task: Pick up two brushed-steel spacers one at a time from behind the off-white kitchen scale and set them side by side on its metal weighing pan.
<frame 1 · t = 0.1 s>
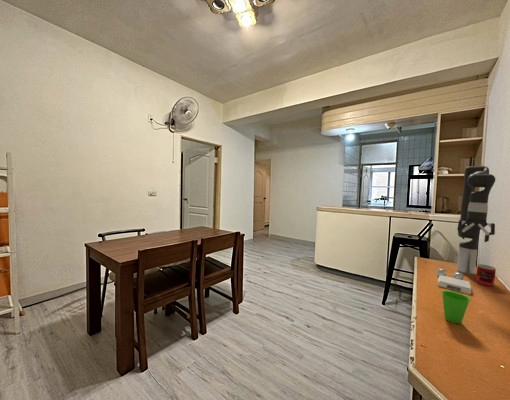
hand: (474, 240, 119), 29 cm above the table, fingers open, 8 cm apart
scale: (453, 286, 128), on the table
spacer a: (458, 281, 136), on the table
canned food: (484, 284, 134), on the table
spacer b: (441, 276, 142), on the table
cup: (452, 321, 92), on the table
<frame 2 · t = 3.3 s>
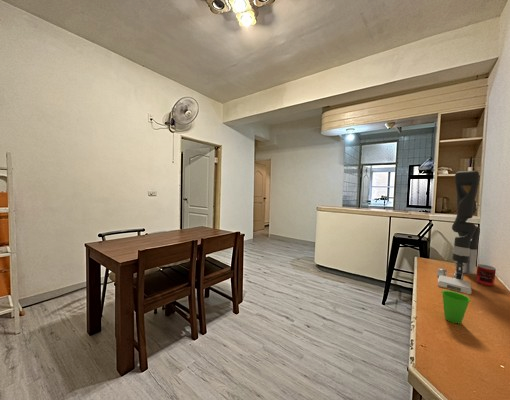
hand: (458, 280, 136), 0 cm above the table, fingers closed on spacer a, 4 cm apart
spacer a: (458, 280, 136), on the table, touching gripper
everything else where it was.
when the fingers open (4 cm above the table, at t = 7.8 s): spacer a stays where it is, resting on scale.
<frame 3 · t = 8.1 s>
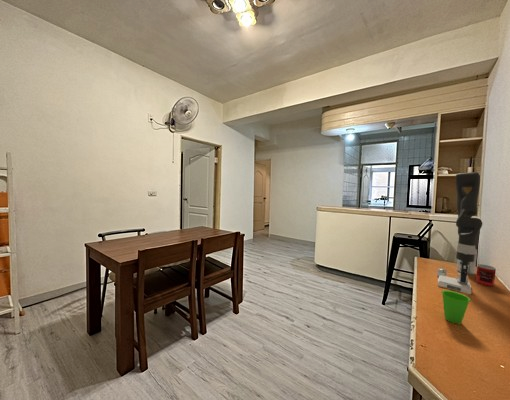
hand: (462, 280, 125), 5 cm above the table, fingers open, 6 cm apart
spacer a: (462, 283, 125), point 3 cm above the table, touching scale
everything else where it was.
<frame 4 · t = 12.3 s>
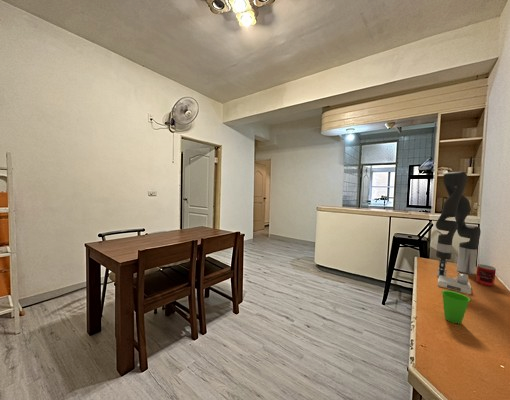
hand: (441, 276, 142), 0 cm above the table, fingers closed on spacer b, 4 cm apart
spacer b: (441, 276, 142), on the table, touching gripper
everything else where it was.
when the fingers open (4 cm above the table, at t = 16.8 s): spacer b stays where it is, resting on scale.
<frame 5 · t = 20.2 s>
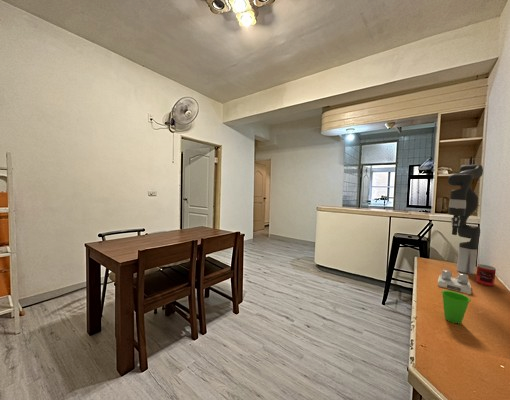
hand: (454, 234, 131), 30 cm above the table, fingers open, 8 cm apart
spacer b: (446, 279, 130), point 3 cm above the table, touching scale
everything else where it was.
at the end: spacer a inside the target area on the scale (3.5 cm from its centre), point 3.0 cm above the scale's base; spacer b inside the target area on the scale (3.5 cm from its centre), point 3.0 cm above the scale's base; spacer b tilted 0° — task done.
